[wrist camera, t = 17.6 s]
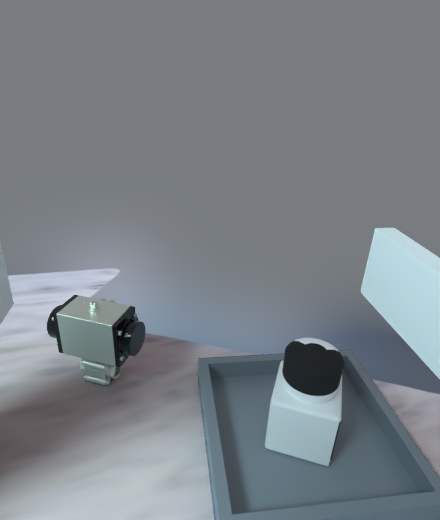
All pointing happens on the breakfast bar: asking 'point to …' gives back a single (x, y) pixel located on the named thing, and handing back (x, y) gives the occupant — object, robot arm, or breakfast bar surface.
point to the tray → (302, 471)
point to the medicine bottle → (306, 401)
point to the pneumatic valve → (97, 335)
